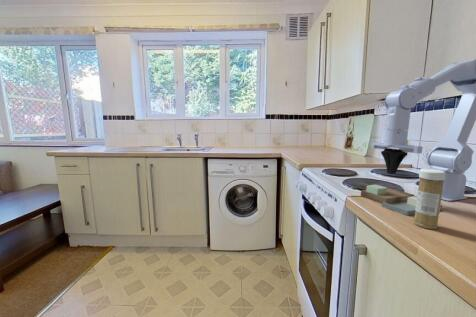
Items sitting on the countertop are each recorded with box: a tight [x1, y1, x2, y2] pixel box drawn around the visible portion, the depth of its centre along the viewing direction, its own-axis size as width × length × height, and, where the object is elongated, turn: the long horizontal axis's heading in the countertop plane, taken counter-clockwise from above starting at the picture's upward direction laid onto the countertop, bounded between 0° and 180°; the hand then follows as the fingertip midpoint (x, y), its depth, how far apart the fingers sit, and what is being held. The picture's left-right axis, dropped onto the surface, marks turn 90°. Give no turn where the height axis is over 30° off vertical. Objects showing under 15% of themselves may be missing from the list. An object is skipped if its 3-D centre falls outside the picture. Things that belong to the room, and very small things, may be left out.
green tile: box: [365, 184, 387, 195], centre depth 73 cm, size 4×4×2 cm
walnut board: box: [360, 186, 415, 205], centre depth 73 cm, size 12×9×2 cm
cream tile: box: [407, 195, 417, 206], centre depth 66 cm, size 4×4×2 cm
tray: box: [381, 201, 443, 216], centre depth 65 cm, size 14×7×1 cm, turn 109°
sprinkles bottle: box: [413, 168, 446, 230], centre depth 53 cm, size 5×5×13 cm
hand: (391, 173), depth 71 cm, fingers closed
